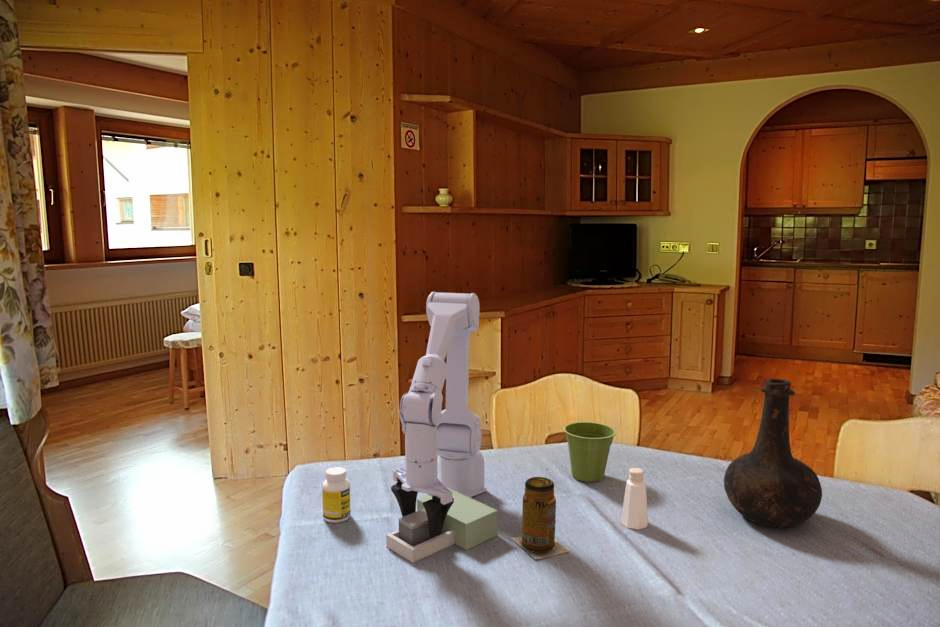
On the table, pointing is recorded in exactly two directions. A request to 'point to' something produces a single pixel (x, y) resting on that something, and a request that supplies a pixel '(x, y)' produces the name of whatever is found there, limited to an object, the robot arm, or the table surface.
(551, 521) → the condiment
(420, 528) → the grey rectangular block
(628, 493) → the salt shaker
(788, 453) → the glass bottle
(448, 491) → the robot arm
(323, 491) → the supplement bottle
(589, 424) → the plant pot
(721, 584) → the table surface
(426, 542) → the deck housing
